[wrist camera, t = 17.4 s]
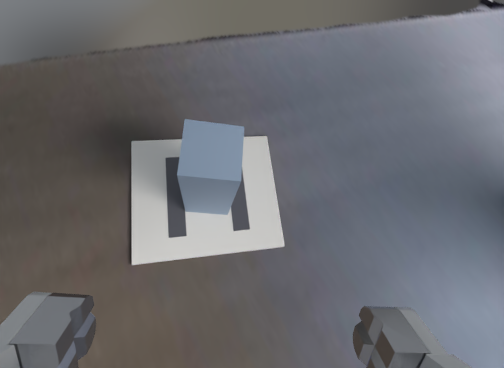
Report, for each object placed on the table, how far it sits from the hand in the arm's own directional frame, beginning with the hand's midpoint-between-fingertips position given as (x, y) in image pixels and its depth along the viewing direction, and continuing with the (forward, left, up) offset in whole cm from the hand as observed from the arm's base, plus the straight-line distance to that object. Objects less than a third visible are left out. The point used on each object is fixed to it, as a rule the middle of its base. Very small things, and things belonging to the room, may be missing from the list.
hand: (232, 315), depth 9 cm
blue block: (0, -9, -17) cm, 20 cm away
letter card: (0, -9, -18) cm, 20 cm away
